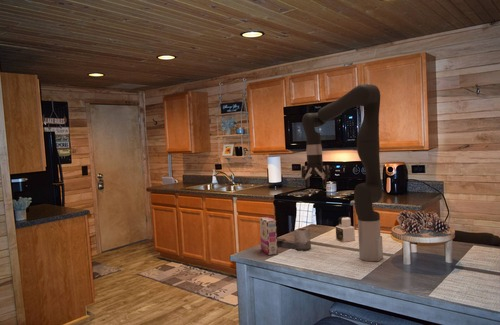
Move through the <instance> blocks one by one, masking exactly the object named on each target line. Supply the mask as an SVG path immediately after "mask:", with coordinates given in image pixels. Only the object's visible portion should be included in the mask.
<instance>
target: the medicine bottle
mask: <svg viewBox="0 0 500 325" xmlns="http://www.w3.org/2000/svg"><path fill="white" fill-rule="evenodd" d="M335 239H336V240H337V241H340V242H341V243H347V242H353V241H355V240H356V233H355V226H352V222H351V217H350V216H340V217H338V225H336V226H335Z"/></svg>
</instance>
